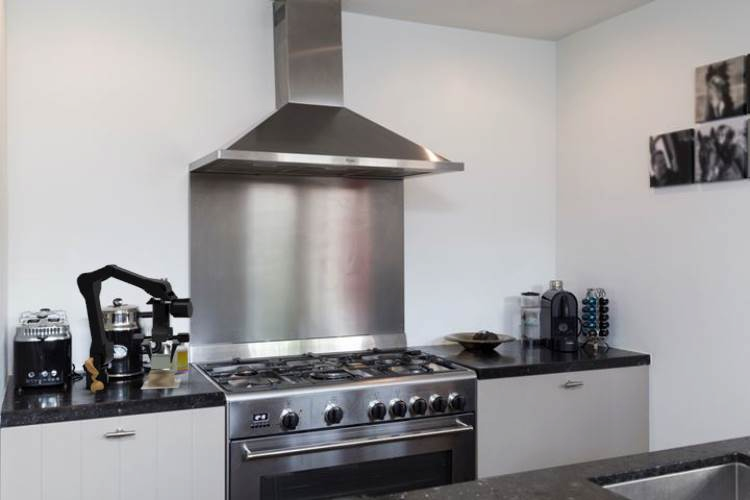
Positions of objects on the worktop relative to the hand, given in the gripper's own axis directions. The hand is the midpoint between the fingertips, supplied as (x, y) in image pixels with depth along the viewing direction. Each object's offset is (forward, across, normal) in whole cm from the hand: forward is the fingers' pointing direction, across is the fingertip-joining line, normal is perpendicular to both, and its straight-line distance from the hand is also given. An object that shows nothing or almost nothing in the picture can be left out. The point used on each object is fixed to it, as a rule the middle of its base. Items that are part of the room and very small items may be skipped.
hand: (161, 363), depth 245 cm
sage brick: (+1, 0, 0) cm, 1 cm away
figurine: (+9, -21, -4) cm, 23 cm away
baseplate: (+8, 0, 0) cm, 8 cm away
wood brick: (+7, 0, 0) cm, 7 cm away
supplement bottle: (+9, +4, +26) cm, 28 cm away
